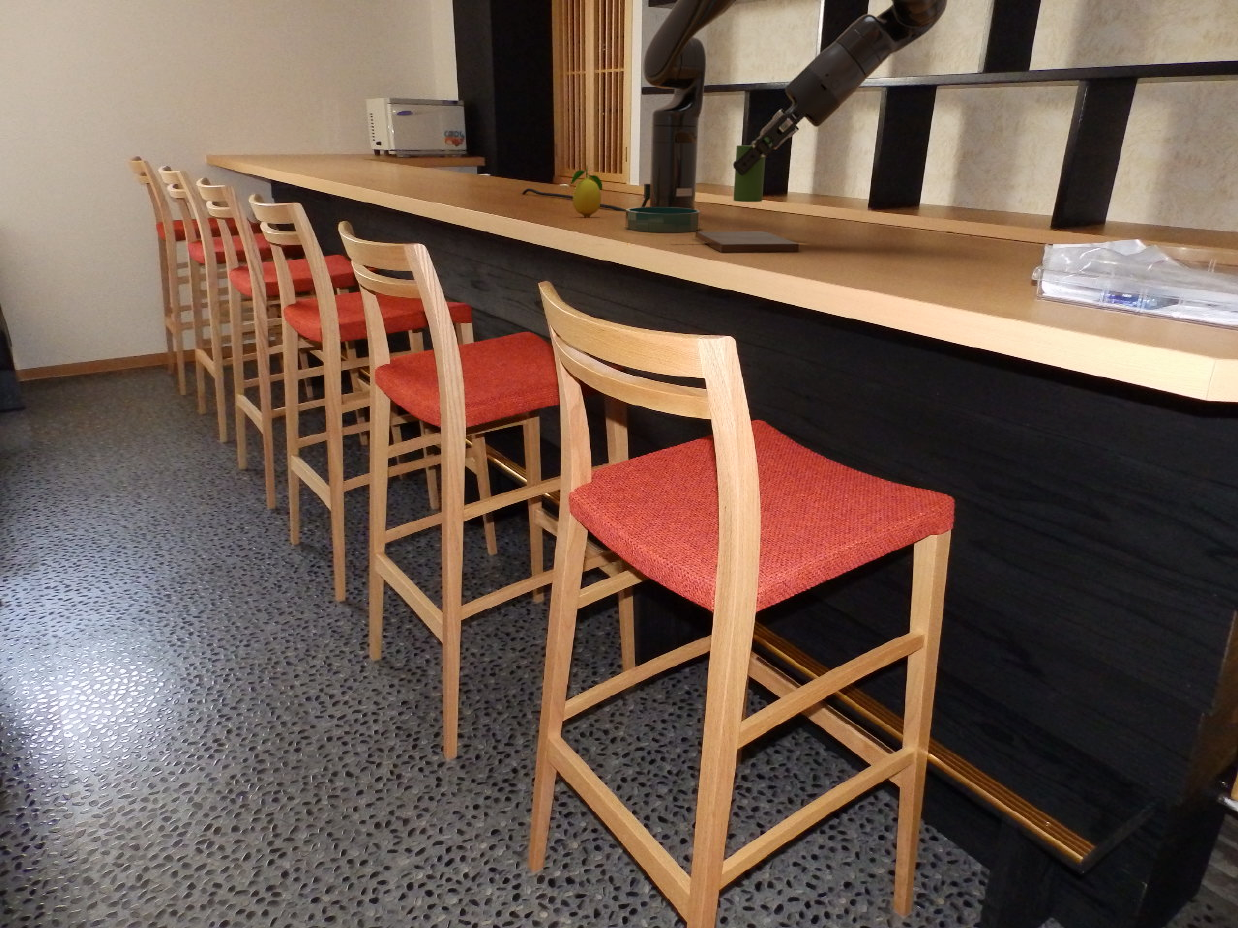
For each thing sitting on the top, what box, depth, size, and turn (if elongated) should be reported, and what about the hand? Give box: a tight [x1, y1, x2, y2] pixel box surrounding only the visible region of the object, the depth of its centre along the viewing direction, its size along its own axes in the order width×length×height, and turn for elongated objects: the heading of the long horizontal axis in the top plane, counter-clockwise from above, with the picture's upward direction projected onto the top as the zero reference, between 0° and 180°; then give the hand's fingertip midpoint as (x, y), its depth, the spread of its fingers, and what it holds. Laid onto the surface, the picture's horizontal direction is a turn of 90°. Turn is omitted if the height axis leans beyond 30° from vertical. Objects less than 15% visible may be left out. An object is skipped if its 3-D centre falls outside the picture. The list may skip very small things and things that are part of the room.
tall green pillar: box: [733, 144, 766, 203], centre depth 129 cm, size 4×4×8 cm
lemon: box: [570, 165, 603, 218], centre depth 165 cm, size 7×6×10 cm
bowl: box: [624, 206, 702, 234], centre depth 149 cm, size 13×13×4 cm
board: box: [695, 230, 800, 253], centre depth 132 cm, size 16×12×1 cm
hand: (737, 170), depth 129 cm, fingers closed on tall green pillar, 4 cm apart
